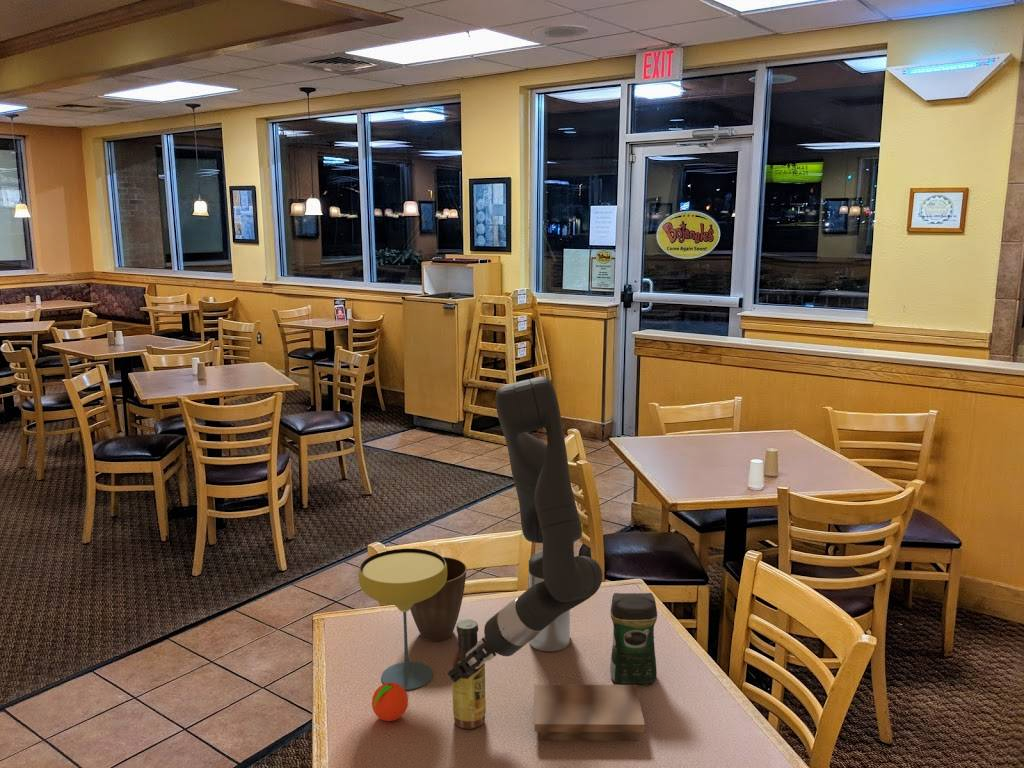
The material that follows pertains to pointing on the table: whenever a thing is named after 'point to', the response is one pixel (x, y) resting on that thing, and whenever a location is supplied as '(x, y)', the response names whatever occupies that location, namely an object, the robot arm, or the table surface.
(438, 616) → the plant pot
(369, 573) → the cocktail glass
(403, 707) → the clementine
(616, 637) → the coffee jar
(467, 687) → the sauce bottle
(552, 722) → the walnut shelf
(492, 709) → the table surface
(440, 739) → the table surface
